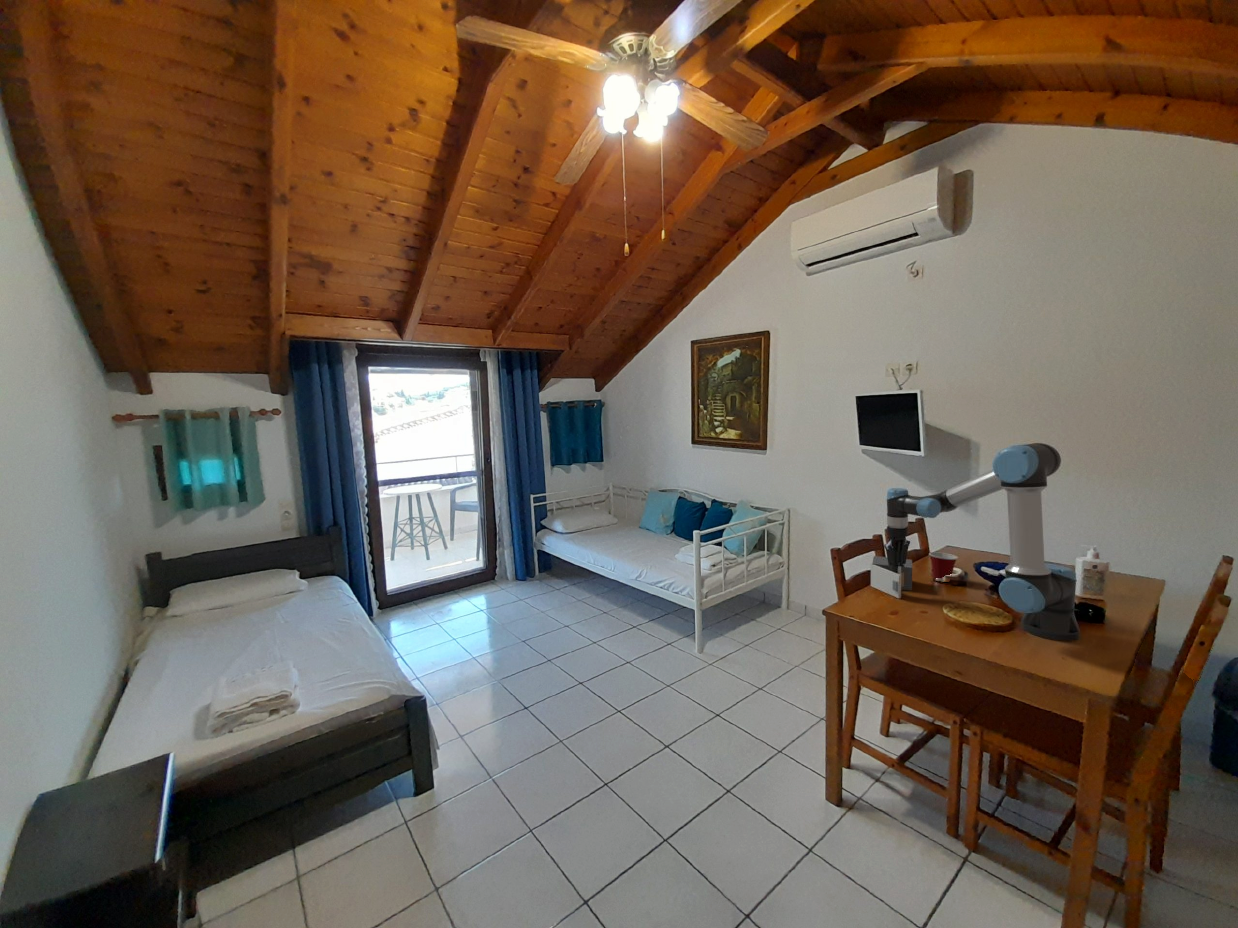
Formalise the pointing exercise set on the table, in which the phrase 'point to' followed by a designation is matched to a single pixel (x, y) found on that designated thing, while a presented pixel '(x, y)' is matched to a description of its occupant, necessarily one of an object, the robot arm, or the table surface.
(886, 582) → the side door
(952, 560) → the plastic cup
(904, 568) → the grey box with door
